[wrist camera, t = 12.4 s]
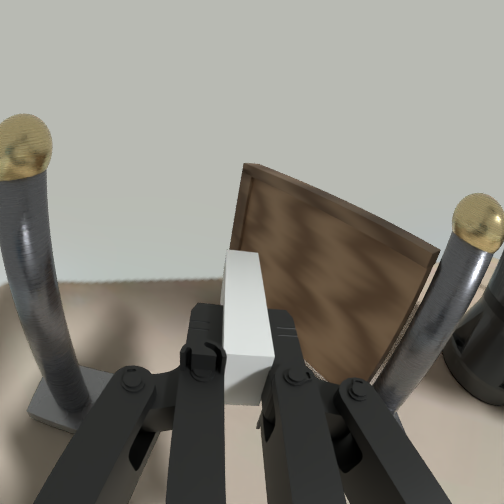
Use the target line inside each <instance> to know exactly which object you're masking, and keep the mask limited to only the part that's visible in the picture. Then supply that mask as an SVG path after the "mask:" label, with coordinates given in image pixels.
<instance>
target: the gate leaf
mask: <svg viewBox="0 0 504 504" xmlns="http://www.w3.org/2000/svg"><path fill="white" fill-rule="evenodd" d="M229 250H237V251H246V252H254V253H258V255H259V261H260V268H261V274H262V280H263V286H264V292H265V298H266V305H267V309H280V310H287V312H288V313H289V314H290V315H291V316H292V318H293V320H294V324H295V327H296V328H295V329H296V331H297V337H298V339H299V343H300V347H301V351H302V355H303V359H305V360H306V361H307V362H308V363H309V364H310V365H311V366H312V367H313V368H314V369H315V370H316V371H317V372H318V373H319V374H320V375H322V376H323V377H324V378H325V379H326V380H327V381H328V382H330V383H334V384H339V385H340V384H341V383H342V381H343V380H345V379H347V378H353V377H356V378H361V379H363V380H365V381H367V382H369V383H370V381H371V380H372V378H373V377H374V375H375V374H376V372H377V371H378V369H379V367H380V366H381V364H382V363H383V361H384V359H385V358H386V356H387V355H388V353H389V351H390V350H391V348H392V346H393V344H394V343H395V341H396V339H397V337H398V336H399V334H400V332H401V330H402V328H403V327H404V325H405V323H406V321H407V319H408V317H409V315H410V313H411V312H412V310H413V308H414V306H415V304H416V302H417V300H418V298H419V296H420V293H421V291H422V289H423V287H424V285H425V283H426V281H427V278H428V276H429V274H430V272H431V269H432V267H433V265H434V264H435V263H436V260H437V258H438V255H439V253H440V249H438V248H436V247H434V246H433V245H431V244H429V243H427V242H425V241H424V240H422V239H420V238H418V237H416V236H415V235H413V234H411V233H409V232H407V231H405V230H403V229H401V228H399V227H397V226H395V225H394V224H392V223H390V222H388V221H386V220H384V219H382V218H380V217H378V216H376V215H374V214H372V213H370V212H368V211H365V210H363V209H361V208H359V207H357V206H355V205H353V204H351V203H349V202H347V201H344V200H342V199H340V198H338V197H336V196H334V195H331V194H329V193H327V192H325V191H322V190H320V189H318V188H315V187H313V186H311V185H309V184H307V183H304V182H302V181H299V180H297V179H294V178H292V177H290V176H287V175H285V174H283V173H280V172H278V171H275V170H273V169H270V168H268V167H265V166H262V165H260V164H252V163H244V164H243V171H242V176H241V182H240V188H239V193H238V199H237V205H236V212H235V218H234V223H233V230H232V236H231V242H230V248H229Z"/></svg>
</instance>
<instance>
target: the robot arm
mask: <svg viewBox="0 0 504 504" xmlns="http://www.w3.org/2000/svg"><path fill="white" fill-rule="evenodd" d="M295 328H296V327H295V324H294V320H293V318H292V316H291V315H290V314H289V313H288V312H287V310H280V309H267V305H266V298H265V292H264V286H263V280H262V274H261V268H260V261H259V255H258V253H254V252H246V251H237V250H228V249H227V251H226V258H225V266H224V274H223V282H222V290H221V301H220V305H215V304H205V303H197V305H196V306H195V307H194V308H193V309H192V310H191V316H190V322H189V329H188V334H187V341H186V344H185V345H183V347H182V349H181V351H180V366H178V367H177V368H176V369H174V370H172V371H170V372H166V373H160V374H151V373H150V372H149V371H148V370H146V369H145V368H143V367H139V366H126V367H123V368H121V369H119V370H118V371H117V372H116V373H115V374H114V375H113V376H112V378H111V379H110V381H109V382H108V384H107V385H106V387H105V388H104V389H103V391H102V393H101V394H100V396H99V397H98V399H97V400H96V402H95V403H94V405H93V406H92V408H91V409H90V411H89V412H88V414H87V415H86V417H85V419H84V420H83V422H82V423H81V425H80V426H79V428H78V429H77V431H76V433H75V434H74V436H73V437H72V439H71V441H70V442H69V444H68V445H67V447H66V449H65V450H64V452H63V454H62V455H61V457H60V459H59V460H58V462H57V463H56V465H55V467H54V468H53V470H52V472H51V474H50V475H49V477H48V479H47V480H46V482H45V484H44V486H43V487H42V489H41V491H40V493H39V494H38V496H37V498H36V500H35V501H34V503H33V504H128V502H129V500H130V498H131V496H132V493H133V491H134V489H135V487H136V484H137V482H138V480H139V478H140V476H141V473H142V471H143V469H144V467H145V465H146V462H147V460H148V458H149V456H150V454H151V451H152V449H153V447H154V445H155V443H156V440H157V438H158V436H159V434H160V432H161V431H168V430H172V438H171V447H170V457H169V468H168V479H167V492H166V504H226V491H225V436H224V404H230V405H251V406H259V404H260V401H261V400H262V411H261V414H260V417H259V420H258V422H257V427H256V429H259V428H260V426H261V437H262V448H263V459H264V470H265V481H266V492H267V502H268V504H346V499H345V495H346V497H347V499H348V501H349V502H350V504H452V503H451V501H450V500H449V498H448V497H447V495H446V494H445V492H444V491H443V489H442V488H441V486H440V485H439V483H438V482H437V480H436V479H435V477H434V476H433V474H432V472H431V471H430V469H429V468H428V466H427V465H426V463H425V462H424V460H423V459H422V458H421V456H420V455H419V453H418V452H417V450H416V449H415V447H414V446H413V444H412V443H411V441H410V440H409V438H408V437H407V435H406V434H405V432H404V431H403V429H402V428H401V427H400V425H399V424H398V422H397V421H396V419H395V418H394V416H393V415H392V413H391V412H390V411H389V409H388V408H387V406H386V405H385V403H384V402H383V400H382V399H381V398H380V396H379V395H378V393H377V392H376V390H375V389H374V388H373V386H372V385H371V384H370V383H369V382H367V381H365V380H363V379H361V378H356V377H353V378H347V379H345V380H343V381H342V383H341V384H340V385H339V384H334V383H330V382H326V381H323V380H320V379H318V378H316V377H315V376H314V374H313V372H312V371H311V370H310V369H309V368H308V367H306V366H305V363H304V359H303V355H302V351H301V347H300V343H299V339H298V337H297V331H296V329H295ZM443 355H444V359H445V361H446V363H447V365H448V367H449V369H450V371H451V372H452V374H453V375H454V377H455V378H456V379H457V380H458V382H459V383H460V384H461V385H462V386H463V387H464V388H465V389H466V390H467V391H469V392H470V393H471V394H472V395H474V396H475V397H477V398H478V399H480V400H482V401H484V402H487V403H489V404H493V405H504V250H503V253H502V256H501V257H500V260H499V262H498V264H497V266H496V269H495V271H494V273H493V275H492V277H491V279H490V281H489V283H488V285H487V287H486V289H485V291H484V293H483V295H482V297H481V298H480V300H479V301H478V302H477V303H476V304H475V305H474V306H473V307H472V308H470V309H469V310H468V311H467V312H466V313H465V314H464V316H463V317H462V319H461V321H460V323H459V324H458V326H457V328H456V329H455V331H454V333H453V334H452V336H451V337H450V339H449V341H448V342H447V344H446V345H445V347H444V348H443ZM344 493H345V495H344Z"/></svg>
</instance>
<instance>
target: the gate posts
mask: <svg viewBox="0 0 504 504" xmlns="http://www.w3.org/2000/svg"><path fill="white" fill-rule="evenodd" d="M51 155H52V138H51V134H50V131H49V129H48V128H47V126H46V125H45V123H44V122H43V121H42V120H40V119H39V118H38V117H36V116H34V115H30V114H18V115H14V116H11V117H9V118H7V119H6V120H4V121H3V122H2V123H1V124H0V247H1V252H2V257H3V261H4V266H5V270H6V274H7V278H8V282H9V286H10V289H11V293H12V296H13V300H14V303H15V306H16V309H17V313H18V316H19V319H20V321H21V324H22V327H23V330H24V333H25V335H26V338H27V341H28V343H29V346H30V348H31V351H32V353H33V355H34V358H35V360H36V362H37V365H38V367H39V369H40V371H41V373H42V375H43V378H42V380H41V382H40V384H39V386H38V388H37V390H36V392H35V394H34V396H33V398H32V400H31V402H30V405H29V407H28V409H27V412H28V414H29V415H30V417H31V418H33V419H35V420H38V421H40V422H42V423H45V424H48V425H50V426H53V427H55V428H58V429H61V430H64V431H67V432H70V433H73V434H75V433H76V431H77V429H78V428H79V426H80V425H81V423H82V422H83V420H84V419H85V417H86V415H87V414H88V412H89V411H90V409H91V408H92V406H93V405H94V403H95V402H96V400H97V399H98V397H99V396H100V394H101V393H102V391H103V389H104V388H105V387H106V385H107V384H108V382H109V381H110V379H111V378H112V376H113V375H114V374H112V373H108V372H103V371H99V370H95V369H91V368H87V367H83V366H80V365H79V364H78V361H77V358H76V355H75V351H74V348H73V345H72V341H71V338H70V334H69V330H68V327H67V323H66V319H65V315H64V311H63V306H62V302H61V297H60V292H59V287H58V282H57V277H56V271H55V265H54V259H53V252H52V244H51V238H50V237H51V236H50V227H49V216H48V201H47V175H46V174H47V173H46V169H47V167H48V165H49V162H50V159H51ZM452 230H453V231H452V233H451V236H450V239H449V241H448V244H447V247H446V249H445V251H444V254H443V256H442V259H441V261H440V263H439V266H438V268H437V270H436V272H435V275H434V277H433V279H432V281H431V283H430V286H429V288H428V290H427V292H426V294H425V296H424V298H423V300H422V302H421V304H420V306H419V308H418V310H417V312H416V314H415V316H414V317H413V319H412V321H411V323H410V325H409V327H408V329H407V330H406V332H405V334H404V336H403V337H402V339H401V341H400V343H399V344H398V346H397V348H396V349H395V351H394V353H393V354H392V356H391V358H390V359H389V361H388V362H387V364H386V366H385V367H384V369H383V370H382V372H381V373H380V375H379V376H378V378H377V379H376V381H375V382H374V384H373V385H372V386H373V388H374V389H375V390H376V392H377V393H378V395H379V396H380V398H381V399H382V400H383V402H384V403H385V405H386V406H387V408H388V409H389V411H390V412H391V413H392V415H393V416H394V418H395V419H396V421H397V422H398V424H399V425H400V427H401V428H402V429H403V431H404V428H403V426H402V424H401V421H400V419H399V417H398V414H397V412H396V411H397V410H398V409H399V408H400V406H401V405H402V404H403V403H404V402H405V400H406V399H407V398H408V397H409V395H410V394H411V393H412V392H413V390H414V389H415V388H416V387H417V385H418V384H419V383H420V381H421V380H422V379H423V377H424V376H425V375H426V373H427V372H428V370H429V369H430V368H431V366H432V365H433V363H434V362H435V360H436V359H437V357H438V356H439V355H440V353H441V352H442V350H443V348H444V347H445V345H446V344H447V342H448V341H449V339H450V337H451V336H452V334H453V333H454V331H455V329H456V328H457V326H458V324H459V323H460V321H461V319H462V317H463V316H464V314H465V312H466V310H467V308H468V307H469V305H470V303H471V301H472V299H473V297H474V295H475V293H476V291H477V289H478V287H479V285H480V283H481V281H482V279H483V277H484V275H485V273H486V270H487V268H488V266H489V264H490V261H491V259H492V257H493V254H494V253H495V252H496V251H497V250H498V249H499V248H500V247H501V245H502V244H503V242H504V211H503V209H502V207H501V205H500V204H499V203H498V202H497V201H496V200H495V199H494V198H492V197H491V196H489V195H486V194H483V193H474V194H471V195H468V196H466V197H465V198H463V199H462V200H461V201H460V202H459V204H458V205H457V207H456V208H455V211H454V214H453V218H452ZM404 432H405V431H404ZM405 434H406V433H405Z"/></svg>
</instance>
